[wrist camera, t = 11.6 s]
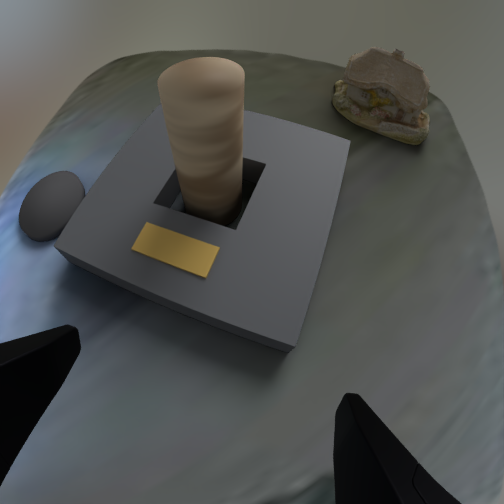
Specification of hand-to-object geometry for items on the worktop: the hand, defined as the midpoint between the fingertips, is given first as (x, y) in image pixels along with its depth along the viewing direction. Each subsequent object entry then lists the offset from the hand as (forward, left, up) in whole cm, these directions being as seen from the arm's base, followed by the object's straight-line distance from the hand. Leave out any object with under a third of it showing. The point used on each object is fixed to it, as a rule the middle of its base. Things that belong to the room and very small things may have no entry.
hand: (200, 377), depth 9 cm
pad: (+8, +22, -13) cm, 27 cm away
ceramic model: (+36, -7, -13) cm, 39 cm away
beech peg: (+14, +6, -13) cm, 20 cm away
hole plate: (+14, +6, -13) cm, 20 cm away
